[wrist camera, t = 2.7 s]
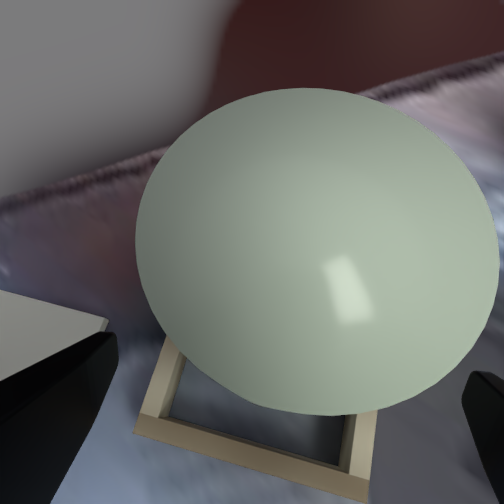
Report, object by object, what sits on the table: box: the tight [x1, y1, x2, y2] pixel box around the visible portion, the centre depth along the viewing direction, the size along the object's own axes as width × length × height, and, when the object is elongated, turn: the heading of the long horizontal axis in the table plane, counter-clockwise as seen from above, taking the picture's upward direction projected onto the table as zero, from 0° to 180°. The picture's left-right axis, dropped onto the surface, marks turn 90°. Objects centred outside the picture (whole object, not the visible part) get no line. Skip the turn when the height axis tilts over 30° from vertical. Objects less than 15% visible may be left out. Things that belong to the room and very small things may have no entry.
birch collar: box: [133, 335, 377, 504], centre depth 17 cm, size 10×10×2 cm
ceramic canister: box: [135, 88, 500, 416], centre depth 11 cm, size 5×5×14 cm
